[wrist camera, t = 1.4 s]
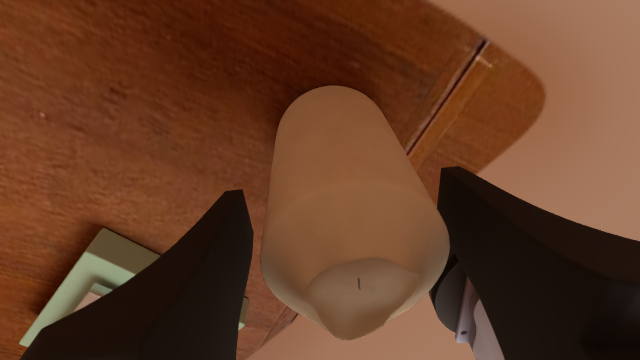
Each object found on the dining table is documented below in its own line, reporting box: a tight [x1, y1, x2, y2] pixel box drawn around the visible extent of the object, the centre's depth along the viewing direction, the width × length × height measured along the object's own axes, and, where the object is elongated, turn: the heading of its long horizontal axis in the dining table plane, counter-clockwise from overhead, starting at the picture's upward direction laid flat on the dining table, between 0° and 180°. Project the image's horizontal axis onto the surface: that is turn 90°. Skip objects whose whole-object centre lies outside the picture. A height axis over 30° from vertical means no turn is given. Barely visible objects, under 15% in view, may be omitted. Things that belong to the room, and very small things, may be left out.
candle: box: [260, 86, 450, 340], centre depth 13 cm, size 6×6×10 cm
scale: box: [19, 228, 249, 347], centre depth 22 cm, size 10×10×2 cm
